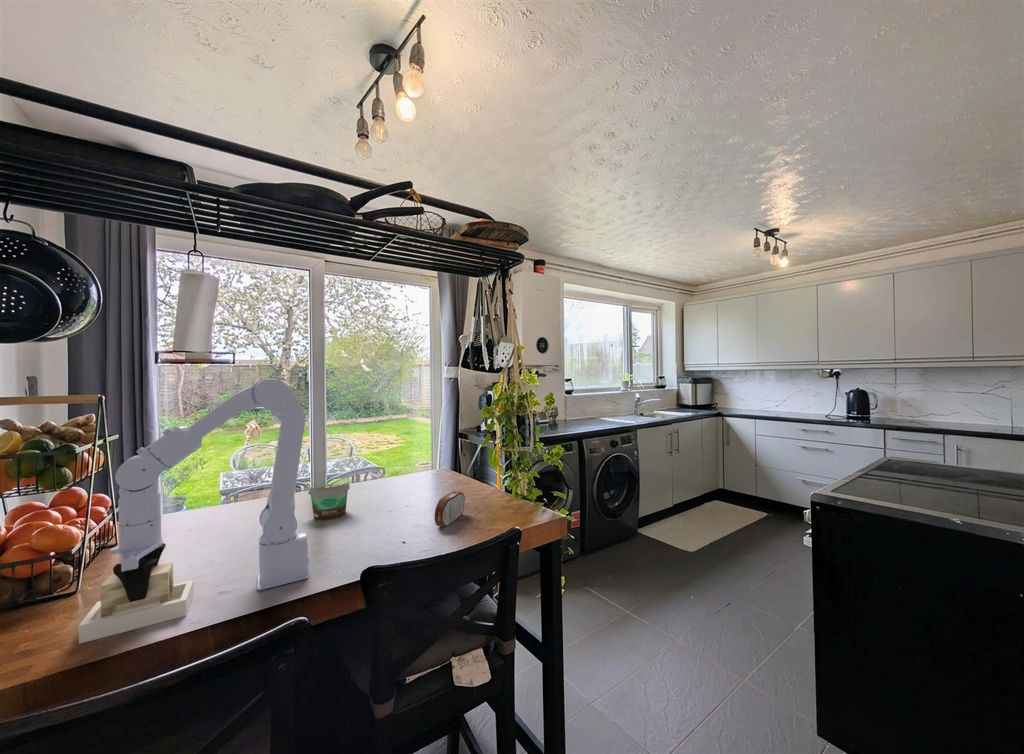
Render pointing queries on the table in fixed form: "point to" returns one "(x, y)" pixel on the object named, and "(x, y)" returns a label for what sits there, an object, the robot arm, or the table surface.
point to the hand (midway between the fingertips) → (141, 593)
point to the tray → (136, 614)
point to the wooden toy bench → (158, 585)
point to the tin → (449, 508)
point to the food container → (329, 501)
